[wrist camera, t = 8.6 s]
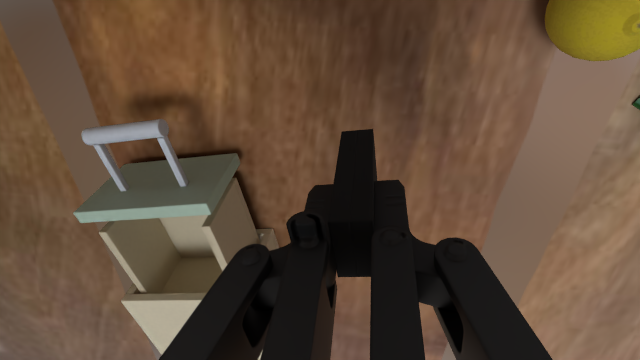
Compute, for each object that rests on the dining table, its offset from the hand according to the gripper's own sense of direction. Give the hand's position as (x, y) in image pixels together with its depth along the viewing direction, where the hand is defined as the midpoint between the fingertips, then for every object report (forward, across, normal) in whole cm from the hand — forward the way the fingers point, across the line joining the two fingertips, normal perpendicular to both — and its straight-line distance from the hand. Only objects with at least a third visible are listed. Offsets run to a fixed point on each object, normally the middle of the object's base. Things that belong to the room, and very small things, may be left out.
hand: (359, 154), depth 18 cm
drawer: (+13, -19, -11) cm, 26 cm away
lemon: (+15, +15, +3) cm, 21 cm away
